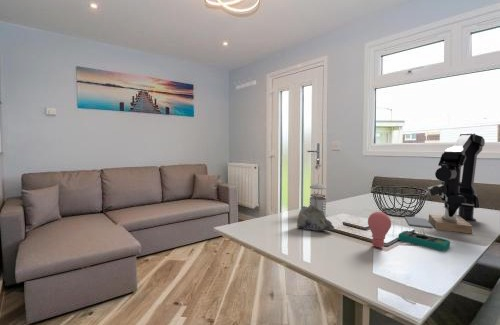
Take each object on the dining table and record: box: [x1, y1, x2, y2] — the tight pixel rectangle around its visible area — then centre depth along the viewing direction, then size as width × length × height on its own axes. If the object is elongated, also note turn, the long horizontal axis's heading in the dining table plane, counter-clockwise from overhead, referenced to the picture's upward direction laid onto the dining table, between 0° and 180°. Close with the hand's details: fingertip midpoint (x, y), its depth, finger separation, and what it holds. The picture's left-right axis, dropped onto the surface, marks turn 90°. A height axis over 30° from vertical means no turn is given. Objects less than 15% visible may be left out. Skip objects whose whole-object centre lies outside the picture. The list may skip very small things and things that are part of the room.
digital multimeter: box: [397, 230, 451, 252], centre depth 98 cm, size 7×15×3 cm, turn 40°
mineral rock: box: [296, 205, 335, 231], centre depth 110 cm, size 13×11×10 cm
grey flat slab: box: [404, 216, 434, 229], centre depth 124 cm, size 14×9×1 cm, turn 157°
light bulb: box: [367, 211, 392, 248], centre depth 93 cm, size 7×7×12 cm
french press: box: [309, 163, 328, 218], centre depth 133 cm, size 10×12×25 cm
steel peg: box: [442, 205, 458, 221], centre depth 119 cm, size 4×4×8 cm
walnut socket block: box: [428, 213, 473, 234], centre depth 119 cm, size 16×12×3 cm
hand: (449, 215), depth 119 cm, fingers closed on steel peg, 4 cm apart
